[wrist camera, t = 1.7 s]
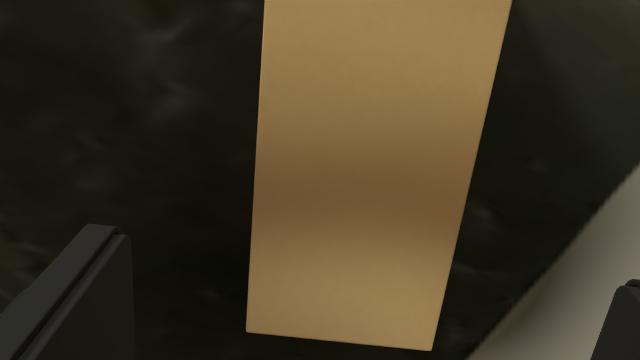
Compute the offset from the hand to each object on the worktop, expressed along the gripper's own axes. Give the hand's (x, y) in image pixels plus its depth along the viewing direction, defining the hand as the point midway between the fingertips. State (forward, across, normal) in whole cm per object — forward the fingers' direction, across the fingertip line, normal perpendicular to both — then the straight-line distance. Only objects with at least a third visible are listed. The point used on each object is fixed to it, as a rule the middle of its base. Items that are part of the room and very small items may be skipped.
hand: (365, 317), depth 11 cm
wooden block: (+10, 0, 0) cm, 10 cm away
